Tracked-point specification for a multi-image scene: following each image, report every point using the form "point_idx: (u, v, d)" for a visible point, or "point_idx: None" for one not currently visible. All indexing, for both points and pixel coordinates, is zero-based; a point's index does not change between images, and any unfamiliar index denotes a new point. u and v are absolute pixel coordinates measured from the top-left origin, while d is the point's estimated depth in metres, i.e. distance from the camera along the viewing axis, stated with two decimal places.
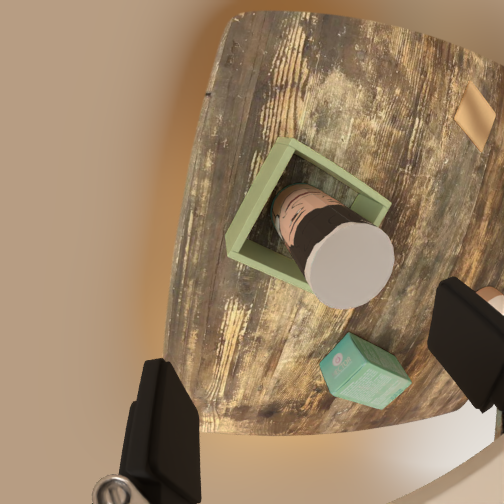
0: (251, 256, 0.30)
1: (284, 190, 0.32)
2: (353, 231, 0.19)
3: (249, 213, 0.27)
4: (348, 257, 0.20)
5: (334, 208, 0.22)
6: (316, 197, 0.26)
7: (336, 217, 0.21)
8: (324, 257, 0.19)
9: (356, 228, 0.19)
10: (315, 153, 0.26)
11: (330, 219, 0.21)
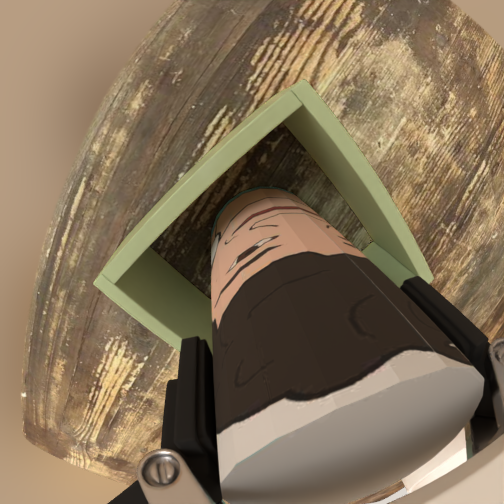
0: (143, 297, 0.14)
1: (251, 192, 0.17)
2: (431, 389, 0.04)
3: (156, 210, 0.12)
4: (368, 449, 0.05)
5: (364, 269, 0.07)
6: (313, 223, 0.11)
7: (377, 309, 0.06)
8: (295, 453, 0.04)
9: (441, 382, 0.04)
10: (341, 129, 0.11)
11: (357, 312, 0.06)
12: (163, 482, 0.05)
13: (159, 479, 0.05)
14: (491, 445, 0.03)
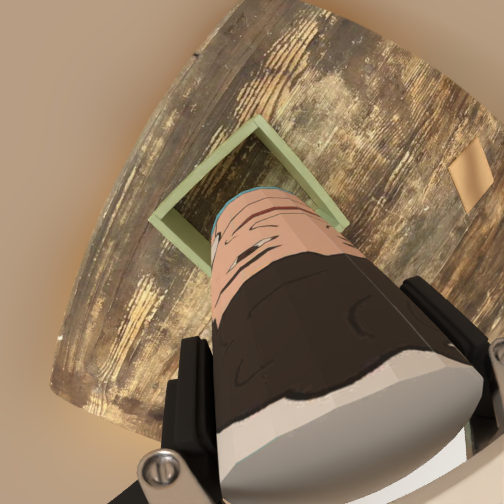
0: (174, 229, 0.25)
1: (251, 192, 0.17)
2: (430, 389, 0.04)
3: (186, 180, 0.23)
4: (367, 449, 0.05)
5: (363, 269, 0.08)
6: (313, 223, 0.11)
7: (377, 309, 0.06)
8: (295, 452, 0.04)
9: (440, 382, 0.04)
10: (279, 138, 0.23)
11: (356, 312, 0.06)
12: (163, 481, 0.05)
13: (159, 479, 0.05)
14: (491, 445, 0.03)
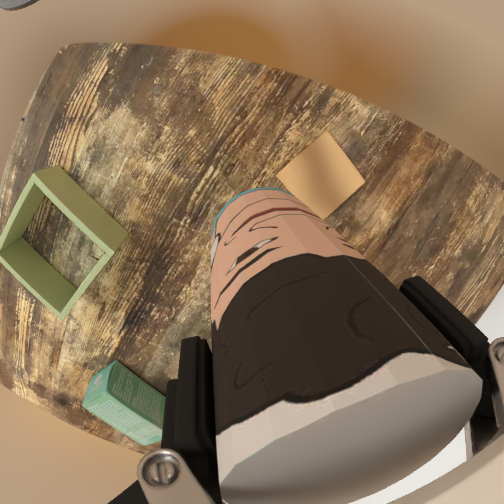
0: (9, 259, 0.27)
1: (251, 193, 0.17)
2: (429, 391, 0.04)
3: (6, 226, 0.25)
4: (366, 450, 0.05)
5: (363, 271, 0.08)
6: (313, 224, 0.11)
7: (376, 312, 0.06)
8: (294, 454, 0.04)
9: (439, 384, 0.04)
10: (47, 189, 0.24)
11: (355, 315, 0.06)
12: (163, 481, 0.05)
13: (159, 479, 0.05)
14: (491, 445, 0.03)
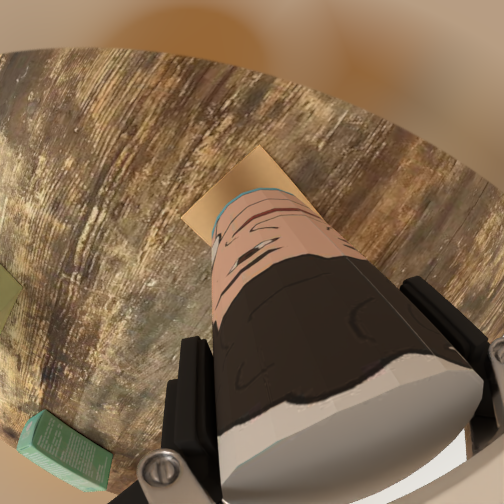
0: None
1: (252, 193, 0.17)
2: (430, 392, 0.04)
3: None
4: (368, 451, 0.05)
5: (364, 272, 0.08)
6: (314, 225, 0.11)
7: (378, 312, 0.06)
8: (296, 455, 0.04)
9: (440, 385, 0.04)
10: None
11: (357, 315, 0.06)
12: (163, 482, 0.05)
13: (159, 479, 0.05)
14: (491, 445, 0.03)
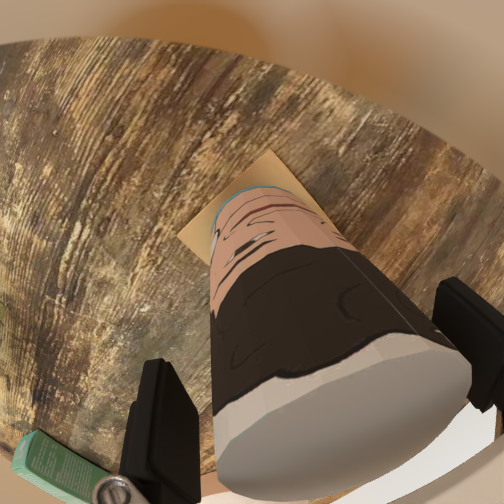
0: None
1: (250, 191, 0.17)
2: (415, 371, 0.05)
3: None
4: (357, 431, 0.05)
5: (354, 261, 0.08)
6: (308, 219, 0.11)
7: (365, 296, 0.06)
8: (286, 430, 0.05)
9: (425, 365, 0.05)
10: None
11: (345, 298, 0.06)
12: None
13: None
14: (491, 445, 0.03)
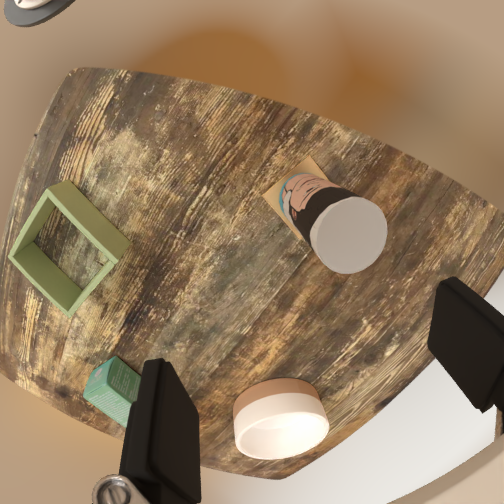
0: (22, 262, 0.31)
1: (300, 174, 0.35)
2: (362, 204, 0.23)
3: None
4: (352, 224, 0.23)
5: (347, 190, 0.26)
6: None
7: (350, 193, 0.24)
8: (335, 216, 0.23)
9: (365, 203, 0.23)
10: (59, 203, 0.29)
11: (345, 193, 0.24)
12: None
13: None
14: (491, 445, 0.03)
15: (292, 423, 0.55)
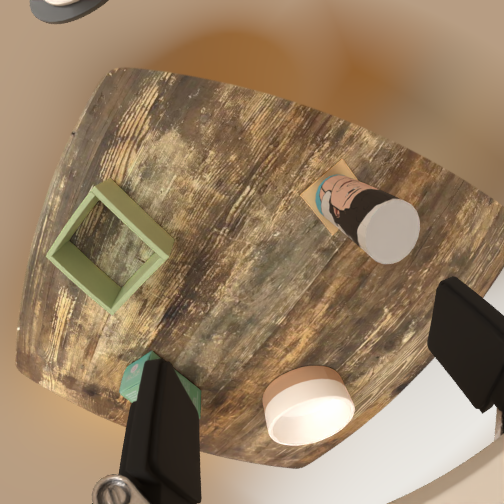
0: (62, 261, 0.34)
1: (335, 176, 0.38)
2: (402, 205, 0.26)
3: None
4: (393, 222, 0.26)
5: (385, 192, 0.29)
6: None
7: (389, 195, 0.27)
8: (380, 215, 0.26)
9: (403, 204, 0.26)
10: (108, 201, 0.31)
11: (385, 195, 0.27)
12: None
13: None
14: (491, 445, 0.03)
15: (316, 410, 0.59)
